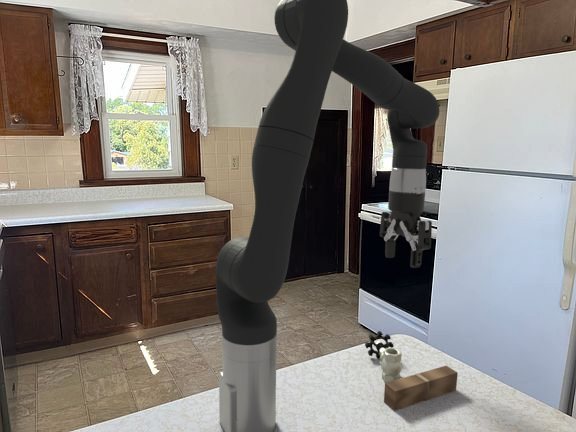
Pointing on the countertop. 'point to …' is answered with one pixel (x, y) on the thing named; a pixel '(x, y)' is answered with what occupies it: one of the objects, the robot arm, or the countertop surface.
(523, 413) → the countertop surface
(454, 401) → the countertop surface
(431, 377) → the bar
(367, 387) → the countertop surface
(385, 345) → the valve
